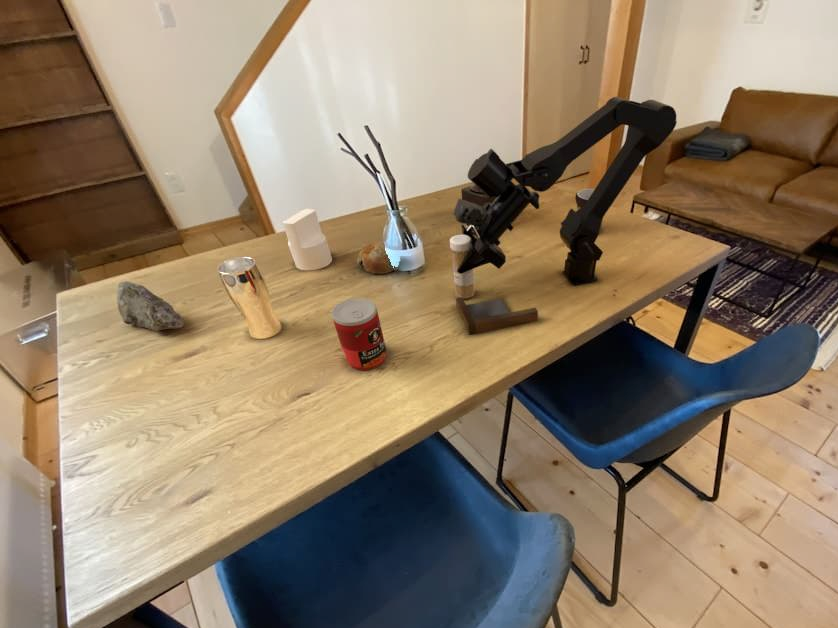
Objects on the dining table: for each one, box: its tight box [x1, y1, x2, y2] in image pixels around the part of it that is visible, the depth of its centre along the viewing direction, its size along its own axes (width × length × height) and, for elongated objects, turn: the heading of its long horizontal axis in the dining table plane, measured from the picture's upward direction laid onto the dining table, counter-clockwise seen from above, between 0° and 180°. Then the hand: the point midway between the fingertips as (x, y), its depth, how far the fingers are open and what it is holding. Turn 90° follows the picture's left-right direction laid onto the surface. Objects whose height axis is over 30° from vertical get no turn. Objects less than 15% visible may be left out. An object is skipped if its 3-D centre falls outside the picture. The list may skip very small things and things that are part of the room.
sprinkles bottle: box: [449, 234, 476, 300], centre depth 95 cm, size 5×5×14 cm
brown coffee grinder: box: [460, 183, 496, 207], centre depth 124 cm, size 16×11×18 cm
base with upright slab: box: [282, 208, 333, 271], centre depth 108 cm, size 9×9×12 cm
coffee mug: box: [575, 188, 604, 229], centre depth 123 cm, size 12×9×10 cm
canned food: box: [331, 297, 387, 371], centre depth 80 cm, size 8×8×11 cm
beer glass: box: [216, 256, 282, 340], centre depth 85 cm, size 7×7×15 cm
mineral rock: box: [116, 280, 184, 332], centre depth 88 cm, size 13×11×10 cm
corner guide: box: [455, 297, 539, 336], centre depth 93 cm, size 15×10×2 cm
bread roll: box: [356, 240, 399, 275], centre depth 109 cm, size 10×10×8 cm
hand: (456, 267), depth 95 cm, fingers closed on sprinkles bottle, 4 cm apart
